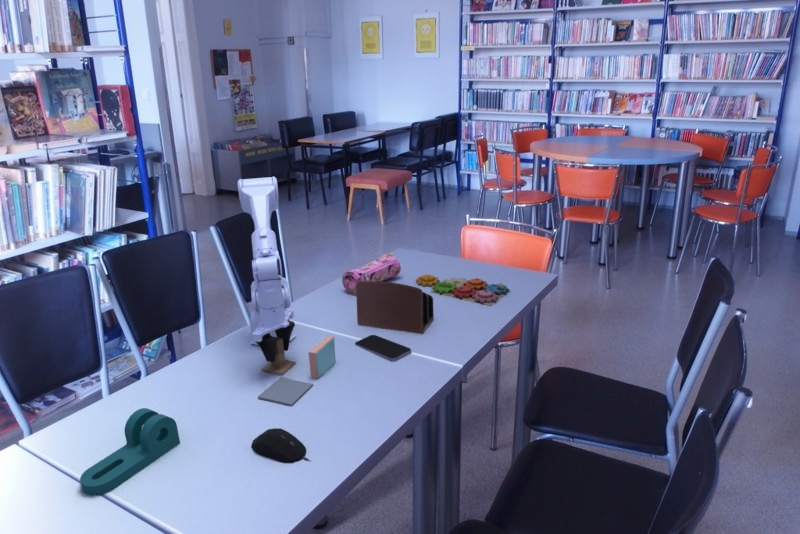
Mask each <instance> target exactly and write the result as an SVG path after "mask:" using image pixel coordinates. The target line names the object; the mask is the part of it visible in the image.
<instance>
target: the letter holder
mask: <svg viewBox="0 0 800 534" xmlns="http://www.w3.org/2000/svg"><path fill="white" fill-rule="evenodd" d="M355 297H356V316H357V317H356V318H357V325H358V326H363V327H369V328H376V329H377V328H378V329H385V330H390V331H396V332H397V331H399V332H404V331H405V332H404V333H411V332H412V333H413V334H417V335H418V334H419V335H423V334H424V333H425V331H426V330H427V329H428V328H429V327H430V325H431V324H432V323H433V321H434V316H435V315H434V297H433V295H431V294H429V293H426V292H423V289H421V288H419V287H415V286H412V285H408V284H403V283H397V282H389V281H362V282H358V283H357V284H356V295H355Z"/></svg>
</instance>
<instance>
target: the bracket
mask: <svg viewBox="0 0 800 534" xmlns="http://www.w3.org/2000/svg"><path fill="white" fill-rule="evenodd" d="M124 436H125V437H124V438H125V440H126V441H125V442H126V444H125V445H124V446H122V447H120V448H118V449H117V450H115V451H114V452H112V453H111V454H109V455H107V456H105V457H104V458H103V459H101V460H100V461H97V462H96V463H95V464H93V465H92V466H90V467H88V468H87V469H86V470H84V471H83V472H82V473H81V476H80V477H79V482H80V485H81V490H82V492H83V493H84V494H85V495H87V496H90V497H91V496H92V497H93V496H94V497H95V496H97V497H98V496H102V495H105V494H107V493H111V492H112V491H114V490H115V489H117V488H118V487H119V486H121V485H123V484H124V483H125V482H127V481H128V480H130V479H131V478H133V477H134V476H136V475H137V474H139V473H140V472H141V471H142V470H144V469H147V467H149V466H150V465H151V464H153V463H154V462H156V461H157V460H158V459H159V460H160V458H162V457H163V456H165V455H166V454H167V453H169V452H170V451H172V450H174V449H175V448H176V447H177V446H179V445H181V440H180V435H179V430H178V424H177V422H176V421H175V419H174V418H172V417H170V416H167V415H165V414H161V413H159V412H157V411H154V410H153V409H150V408H145V407H144V408H139V409H137V410H135V411H133V413H132V414H131V415H130V416H129V417H128V418H127V420H126V423H125V425H124Z"/></svg>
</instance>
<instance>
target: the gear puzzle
mask: <svg viewBox="0 0 800 534" xmlns="http://www.w3.org/2000/svg"><path fill="white" fill-rule="evenodd" d="M415 282H416V283H417V285H419V286H420V285H421V286H422V287H426V286H429V287H431V288H430V289H431V291H430V293H431V294H442V296H443V297H450V298H453V299H458V298H460V299H461V300H462V301H466V302H470V303H474V304H475V303H476V304H478V303H481V304H483V306H487V307H492V306H493V305H494V304H495V302H499V301H500V300H501V299H502V298H504V297H505V294H506V295H507V294H509V293H511V289H509V287H507V285H504V283H502V282H499V283H497V284H495V283H490V284H489V283H487V280H483V279H481V278H478V277H477V278H470V279H469V280H467V279H466V278H464V277H460V278H457V277H451V278H449V279H447V278H446V279H444V280H443V281H442V282H441V280H440V279H439V277H437V276H435V275H433V274H432V275H431V274H423V275H421V276H418V278H416V279H415Z"/></svg>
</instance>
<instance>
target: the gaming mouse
mask: <svg viewBox="0 0 800 534" xmlns="http://www.w3.org/2000/svg"><path fill="white" fill-rule="evenodd" d="M251 449H252V450H253V452H255V453H256V454H257V455H259V456H262V457H264V458H268V459H271V460H273V461H275V462H279V463H283V464H293V463H296V462H298V461H301V460H302V461H306V462H311V460H310V459H309V458H308V457H305V456H306V453H307V448H306V446H305V444H303V442H301V441H300V439H298V438H297V437H296V436H295V435H293V434H292V433H290V432H289V431H287V430H285V429H283V428H278V427H277V428H275V427H274V428H270V429H269V428H268V429H266V430H264V431H263V432H262V433H261V434H259V435H258V436H256V437H255V438H254V439H253V440H252V442H251Z"/></svg>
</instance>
